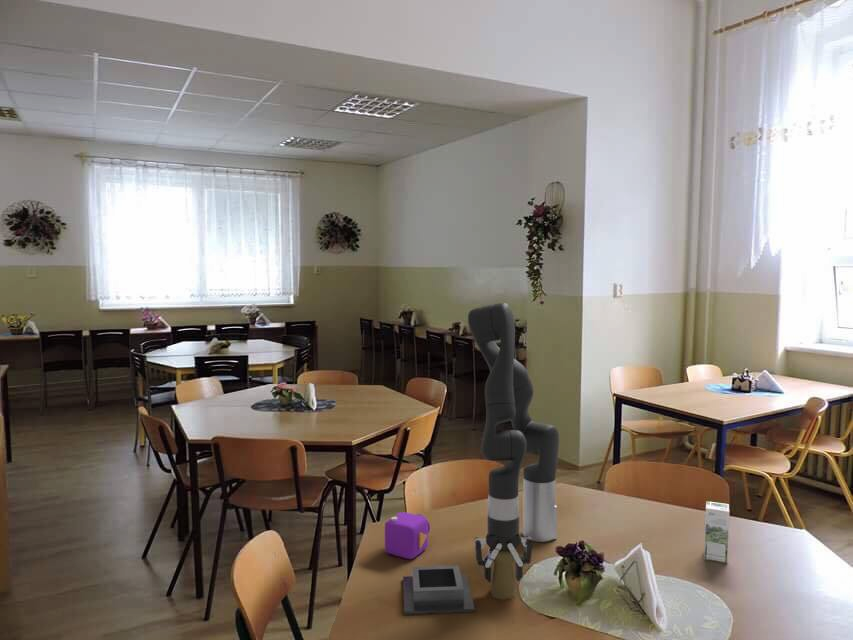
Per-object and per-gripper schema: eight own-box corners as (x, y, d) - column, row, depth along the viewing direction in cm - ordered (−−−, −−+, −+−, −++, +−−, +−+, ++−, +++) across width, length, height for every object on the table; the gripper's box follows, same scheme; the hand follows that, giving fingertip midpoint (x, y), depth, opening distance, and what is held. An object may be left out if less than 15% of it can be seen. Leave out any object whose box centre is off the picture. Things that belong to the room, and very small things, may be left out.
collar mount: (466, 577, 159) (466, 561, 158) (474, 612, 143) (474, 594, 142) (403, 579, 158) (402, 563, 157) (404, 614, 142) (404, 596, 141)
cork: (515, 586, 154) (515, 543, 153) (516, 600, 148) (516, 555, 147) (490, 585, 154) (490, 542, 153) (490, 598, 148) (490, 554, 147)
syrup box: (727, 555, 170) (729, 503, 168) (727, 564, 164) (729, 510, 163) (704, 551, 172) (705, 499, 171) (703, 560, 167) (705, 507, 166)
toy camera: (435, 541, 179) (435, 507, 179) (419, 563, 167) (418, 526, 166) (400, 536, 183) (399, 503, 182) (381, 557, 170) (381, 521, 169)
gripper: (529, 506, 153) (529, 571, 155) (471, 507, 153) (471, 573, 154) (536, 518, 146) (536, 587, 147) (475, 520, 145) (475, 589, 147)
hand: (503, 579), depth 151 cm, fingers open, 6 cm apart
